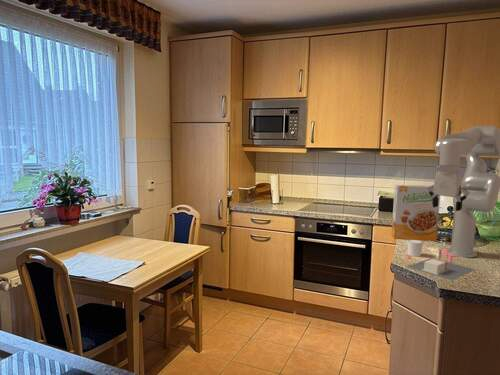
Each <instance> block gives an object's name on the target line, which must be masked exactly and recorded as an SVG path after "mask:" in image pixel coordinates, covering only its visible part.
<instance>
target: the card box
mask: <svg viewBox="0 0 500 375" xmlns="http://www.w3.org/2000/svg"><path fill="white" fill-rule="evenodd" d="M433 258H434V257H433ZM447 262H448V261H447V260H442V259H438V258H434V259H431V260H428V261H425V263H424V270H426V271H429V272H433V273H436V274H438V273H440V272H443V271H445V270H446V269H447Z"/></svg>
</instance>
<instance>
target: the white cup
mask: <svg viewBox="0 0 500 375" xmlns="http://www.w3.org/2000/svg"><path fill="white" fill-rule="evenodd" d="M406 242H407V243H406V244H407V255H408V256H411V257H421V255H422V250H423V243H424V241H423V240H407V241H406Z"/></svg>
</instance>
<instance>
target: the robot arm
mask: <svg viewBox="0 0 500 375" xmlns="http://www.w3.org/2000/svg"><path fill="white" fill-rule="evenodd" d="M434 152H435V153H436V155H437V156H439V164H438V165H436V167H435V168H436V170H438V171H436V173H435V178H434V184H433V185H429V186H430V187H428V188H427V189H428V191H429V194H430V195H431V196H432V198H433V202H432V205H433V207H437V206H438V198H437V197H438V196H439V195H440V197H441V196H442V197H449V198H452V204H453V220H452V232H451V241H450V242H451V243H450V248H447V249H446V252H447V253H448V254H450V255H452V256H456V257H461V258H476V257H477V254H478V253H477V252H475V251H474V248H476V245H475V244H474V243H475V236H476V224H477V221H476V217H475V215H474V213H473V212H472V211H474V212H481V213H490V212H492V211H493V210H494V209H495V207H496V203H497V200H498V197H499V192H500V175H499V174H496V173H493V172H487V168H488V165H487V164H486V161H485V160H483V158H481V157H480V156H482V157H483V156H484V157H500V128H499V127H498V126H496V125H476V126H470V127H468V128H467V129H465V130H463V131H460V132H454V133H451V134H446V135H444V136H441V137H439V138H438V139H437V140H436V141H435V144H434ZM461 157H465V159H466V164H467V165H466V168H465V172H464V175H463V178H462V174H461V172H460V163H461ZM433 188H434V189H433ZM432 189H433V191H432Z"/></svg>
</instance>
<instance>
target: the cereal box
mask: <svg viewBox="0 0 500 375" xmlns="http://www.w3.org/2000/svg"><path fill="white" fill-rule="evenodd" d="M430 186H431V185H417V184H416V185H415V184H414V185H411V184H410V185H409V184H394V190H393V191H394V194H393V195H394V196H393V205H392V206H393V209H392V225H391V237H392V238H393V240H405V241H406V240H407V241H408V240H419V241H423V242H424V241H426V242H427V241H428V242H429V241H430V242H437V238H438V228H439V226H438V225H439V216H440V215H439V213H440V202H441V201H440V200H441V195H439V196H438V197H437V198H438V206H437V207H433V205H432V202H433V198H432V196H431V195H430V194H429V191H428V189H427V188H428V187H430ZM433 189H434V188H433ZM433 189H432V191H433Z"/></svg>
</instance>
